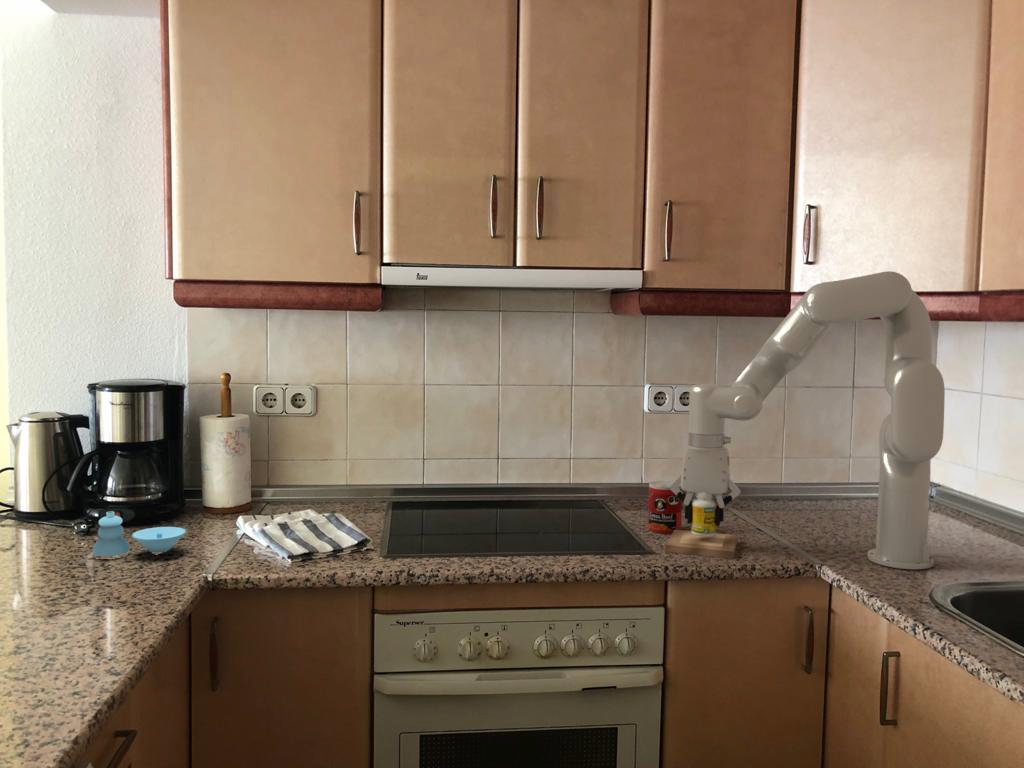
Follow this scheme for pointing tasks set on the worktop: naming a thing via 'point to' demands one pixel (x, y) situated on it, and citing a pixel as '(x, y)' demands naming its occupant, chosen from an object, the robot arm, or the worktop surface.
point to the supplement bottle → (704, 515)
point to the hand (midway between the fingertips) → (703, 522)
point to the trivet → (702, 544)
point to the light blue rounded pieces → (149, 538)
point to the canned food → (663, 508)
